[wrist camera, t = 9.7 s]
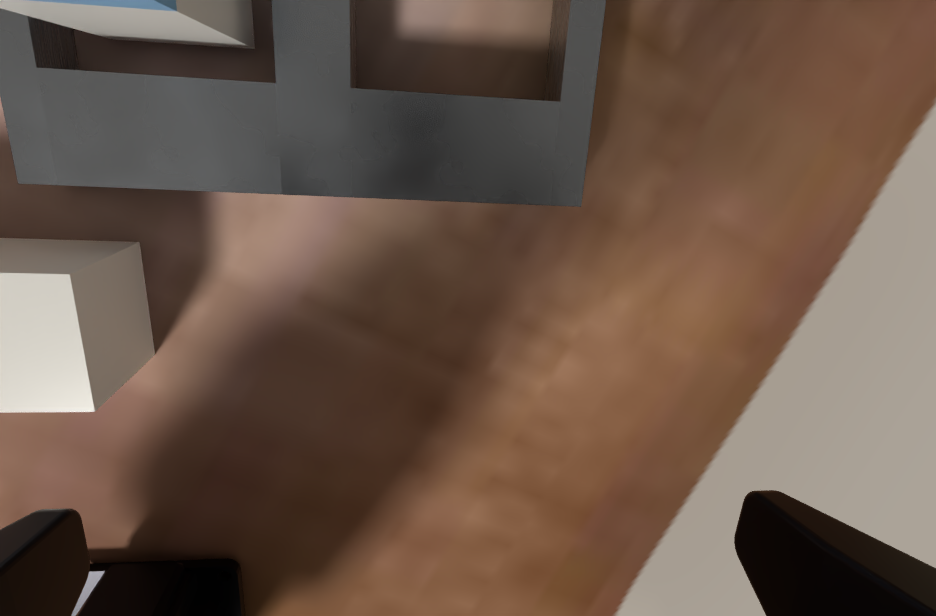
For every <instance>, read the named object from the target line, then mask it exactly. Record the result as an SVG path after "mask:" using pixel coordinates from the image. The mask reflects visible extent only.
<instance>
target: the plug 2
mask: <svg viewBox="0 0 936 616" xmlns="http://www.w3.org/2000/svg"><path fill="white" fill-rule="evenodd" d="M154 355H155V351H154V343H153V336H152V329H151V322H150V314H149V307H148V300H147V293H146V285H145V278H144V271H143V264H142V256H141V249H140V242H123V241H89V240H55V239H22V238H0V412H95V411H96V410H97V409H98V408H99V407H100V406H102V405H103V404H104V403H105V402H106V401H107V400H108V399H109V398H110V397H111V396H112V395H113V394H114V393H115V392H116V391H117V390H118V389H119V388H120V387H122V386H123V385H124V384H125V383H126V382H127V381H128V380H129V379H130V378H131V377H132V376H133V375H134V374H135V373H136V372H137V371H138V370H139V369H141V368H142V367H143V366H144V365H145V364H146V363H147V362H148V361H149V360H150V359H151V358H152V357H153V356H154Z"/></svg>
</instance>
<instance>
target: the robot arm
mask: <svg viewBox="0 0 936 616" xmlns="http://www.w3.org/2000/svg"><path fill="white" fill-rule="evenodd" d="M734 543H735V549H736V552H737V555H738V558H739V560H740V562H741V564H742V566H743V568H744V570H745V572H746V574H747V576H748V578H749V581H750V583H751V585H752V587H753V589H754V591H755V593H756V595H757V597H758V599H759V601H760V604H761V605H762V608H763V610H764V612H765V614H766V616H936V568H934V567H932V566H930V565H928V564H926V563H924V562H922V561H920V560H918V559H916V558H914V557H912V556H910V555H908V554H906V553H903V552H902V551H899V550H897V549H895V548H893V547H891V546H889V545H887V544H885V543H883V542H881V541H879V540H877V539H875V538H873V537H871V536H869V535H867V534H865V533H863V532H861V531H859V530H857V529H855V528H853V527H851V526H849V525H846V524H845V523H843V522H841V521H839V520H837V519H835V518H833V517H831V516H828V515H827V514H824V513H822V512H820V511H818V510H816V509H814V508H812V507H810V506H808V505H806V504H804V503H802V502H800V501H798V500H796V499H794V498H792V497H790V496H788V495H786V494H784V493H782V492H779V491H773V490H769V491H752V492H750V493H748V494H747V495H746V497H745V499H744V502H743V506H742V509H741V514H740V517H739V521H738V525H737V529H736V533H735V542H734ZM223 571H226V572H229V574H227V573H224V572H223ZM0 616H245V609H244V598H243V588H242V578H241V568H240V565H239V564H238V563H237V562H236V561H234V560H232V559H205V560H178V561H152V562H126V563H100V564H90V558H89V553H88V548H87V544H86V539H85V534H84V529H83V524H82V520H81V517H80V514H79V513H78V512H77V511H76V510H73V509H42V510H38V511H35V512H33V513H31V514H29V515H27V516H25V517H23V518H21V519H20V520H18V521H16V522H14V523H12V524H10V525H8V526H6V527H4V528H3V529H1V530H0Z"/></svg>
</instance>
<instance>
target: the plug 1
mask: <svg viewBox="0 0 936 616" xmlns="http://www.w3.org/2000/svg"><path fill="white" fill-rule="evenodd" d="M0 8H1V9H5V10H8V11H12V12H16V13H19V14H23V15H26V16H30V17H34V18H37V19H41V20H44V21H48V22H51V23H55V24H59V25H62V26H66V27H69V28H73V29H77V30H80V31H84V32H87V33H91V34H95V35H98V36H102V37H105V38H109V39H114V40H129V41H144V42H159V43H173V44H188V45H203V46H218V47H233V48H248V49H255V43H254V28H253V13H252V0H0Z"/></svg>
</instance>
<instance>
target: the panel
mask: <svg viewBox="0 0 936 616" xmlns="http://www.w3.org/2000/svg"><path fill="white" fill-rule="evenodd" d="M605 5H606V0H553V11H552V21H551V32H550V43H549V53H548V64H547V75H546V85H545V96H544V101H542V100H527V99H512V98H496V97H481V96H466V95H450V94H435V93H420V92H404V91H389V90H374V89H358V88H356V1H355V0H272V18H273V37H274V57H275V76H276V83H266V82H251V81H236V80H220V79H205V78H190V77H174V76H159V75H144V74H128V73H113V72H98V71H82V70H79V68H78V62H77V55H76V49H75V43H74V36H73V30H72V28H69V27H66V26H62V25H59V24H55V23H51V22H48V21H44V20H41V19H37V18H34V17H30V16H26V15H23V14H19V13H16V12H12V11H8V10H5V9H1V8H0V97H1V101H2V106H3V111H4V116H5V121H6V126H7V131H8V136H9V141H10V146H11V151H12V156H13V161H14V166H15V171H16V176H17V181H18V184H41V185H65V186H90V187H114V188H138V189H163V190H187V191H212V192H236V193H260V194H285V195H309V196H334V197H358V198H382V199H407V200H431V201H456V202H480V203H504V204H529V205H553V206H578V207H581V203H582V195H583V187H584V179H585V170H586V162H587V154H588V145H589V137H590V129H591V121H592V112H593V104H594V96H595V87H596V79H597V71H598V63H599V54H600V46H601V38H602V29H603V21H604V13H605Z"/></svg>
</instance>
